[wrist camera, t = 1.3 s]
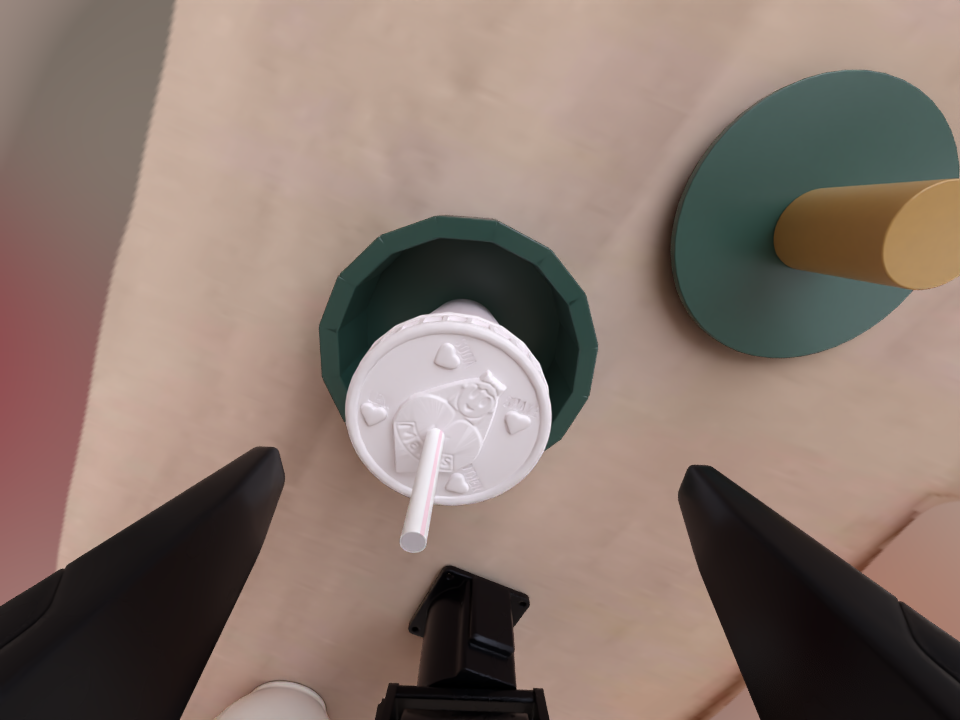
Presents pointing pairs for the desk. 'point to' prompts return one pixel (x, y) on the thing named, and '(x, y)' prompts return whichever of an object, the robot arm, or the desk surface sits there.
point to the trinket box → (277, 704)
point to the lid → (818, 214)
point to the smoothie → (448, 411)
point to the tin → (464, 275)
